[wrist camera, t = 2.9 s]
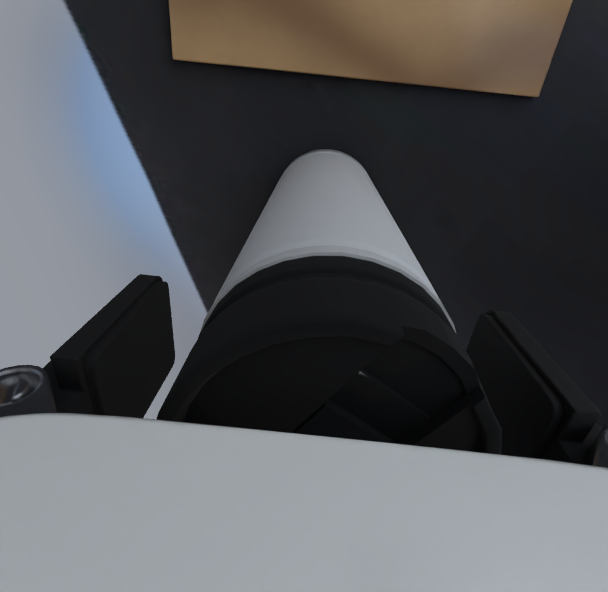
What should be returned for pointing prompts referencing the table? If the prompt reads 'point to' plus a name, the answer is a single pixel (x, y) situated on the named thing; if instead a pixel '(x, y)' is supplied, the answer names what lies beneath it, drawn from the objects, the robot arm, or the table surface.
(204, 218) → the table surface
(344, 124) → the table surface
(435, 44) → the wooden board
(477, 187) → the table surface
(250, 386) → the travel mug
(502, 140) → the table surface
